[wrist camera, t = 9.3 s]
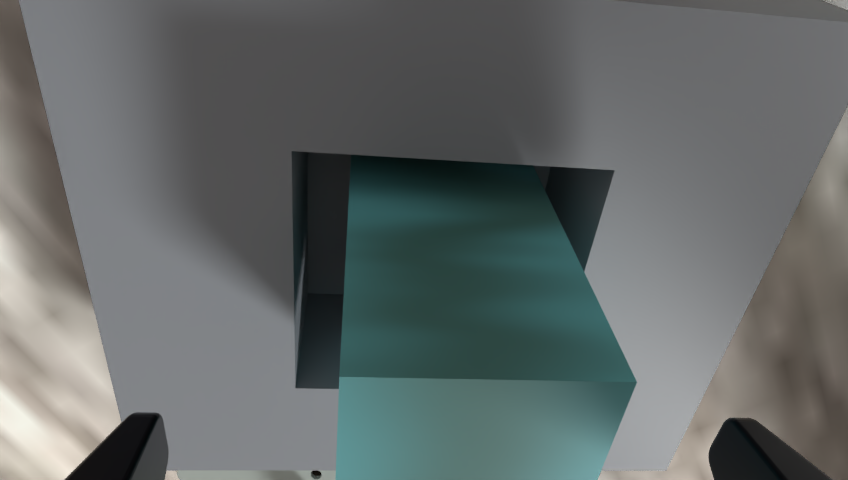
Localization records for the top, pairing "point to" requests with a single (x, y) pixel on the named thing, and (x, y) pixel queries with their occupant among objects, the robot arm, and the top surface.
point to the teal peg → (469, 331)
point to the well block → (423, 139)
